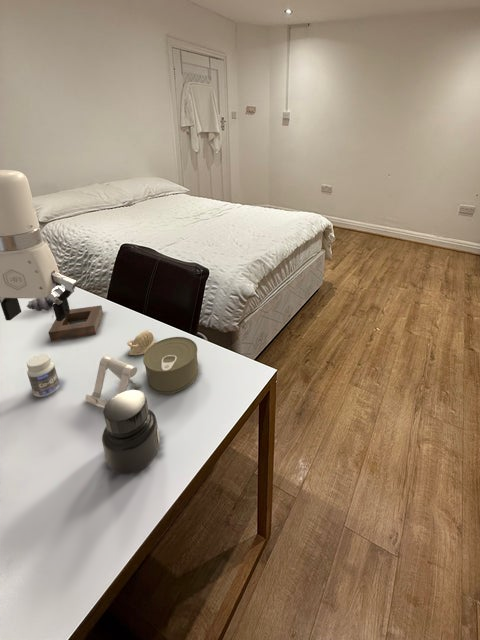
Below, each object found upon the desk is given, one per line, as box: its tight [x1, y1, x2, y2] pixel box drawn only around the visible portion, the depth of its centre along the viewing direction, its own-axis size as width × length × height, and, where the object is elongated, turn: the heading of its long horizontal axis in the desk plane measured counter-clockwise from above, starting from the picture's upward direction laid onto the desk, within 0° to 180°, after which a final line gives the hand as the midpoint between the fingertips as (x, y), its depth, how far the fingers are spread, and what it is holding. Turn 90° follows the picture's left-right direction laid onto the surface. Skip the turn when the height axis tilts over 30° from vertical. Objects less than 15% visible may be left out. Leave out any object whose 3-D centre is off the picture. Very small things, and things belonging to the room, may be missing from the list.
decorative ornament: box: [126, 330, 155, 356], centre depth 86 cm, size 4×8×5 cm, turn 157°
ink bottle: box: [101, 389, 161, 475], centre depth 59 cm, size 10×9×12 cm
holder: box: [48, 305, 104, 342], centre depth 94 cm, size 11×11×3 cm
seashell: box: [26, 297, 55, 312], centre depth 101 cm, size 5×5×10 cm
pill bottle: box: [26, 353, 60, 398], centre depth 72 cm, size 5×5×8 cm
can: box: [143, 336, 199, 395], centre depth 78 cm, size 12×12×7 cm
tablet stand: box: [85, 355, 139, 410], centre depth 71 cm, size 9×8×8 cm
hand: (39, 316), depth 65 cm, fingers open, 9 cm apart
